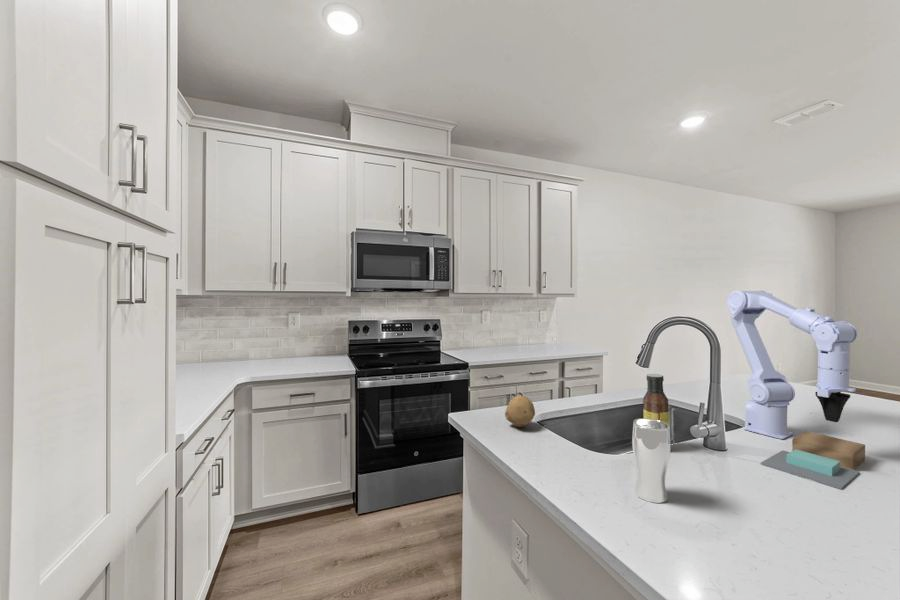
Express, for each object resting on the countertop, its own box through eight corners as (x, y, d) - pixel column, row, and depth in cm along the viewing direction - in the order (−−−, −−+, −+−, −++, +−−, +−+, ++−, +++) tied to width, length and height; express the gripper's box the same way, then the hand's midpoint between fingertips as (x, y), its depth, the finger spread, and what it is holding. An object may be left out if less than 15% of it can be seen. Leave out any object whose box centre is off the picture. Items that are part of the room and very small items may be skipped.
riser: (792, 453, 97) (792, 438, 97) (806, 445, 103) (806, 430, 103) (852, 470, 88) (853, 453, 88) (865, 460, 93) (865, 444, 93)
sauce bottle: (667, 444, 103) (667, 373, 103) (672, 453, 97) (673, 378, 97) (641, 441, 105) (641, 371, 105) (644, 450, 100) (645, 376, 99)
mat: (760, 464, 91) (760, 462, 91) (782, 451, 99) (782, 450, 99) (841, 489, 79) (841, 487, 79) (859, 473, 87) (859, 471, 87)
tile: (795, 449, 94) (795, 457, 95) (786, 454, 91) (786, 462, 91) (840, 461, 88) (840, 469, 88) (832, 467, 85) (831, 476, 85)
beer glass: (669, 508, 73) (670, 432, 72) (630, 498, 76) (630, 425, 76) (670, 492, 78) (670, 421, 78) (633, 483, 82) (634, 415, 82)
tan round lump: (540, 431, 113) (540, 399, 113) (513, 434, 111) (513, 401, 111) (527, 421, 122) (527, 391, 122) (502, 424, 120) (502, 393, 120)
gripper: (846, 374, 89) (844, 431, 89) (864, 368, 96) (863, 420, 96) (806, 369, 95) (805, 422, 95) (826, 363, 102) (825, 413, 102)
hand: (832, 420), depth 96 cm, fingers closed
